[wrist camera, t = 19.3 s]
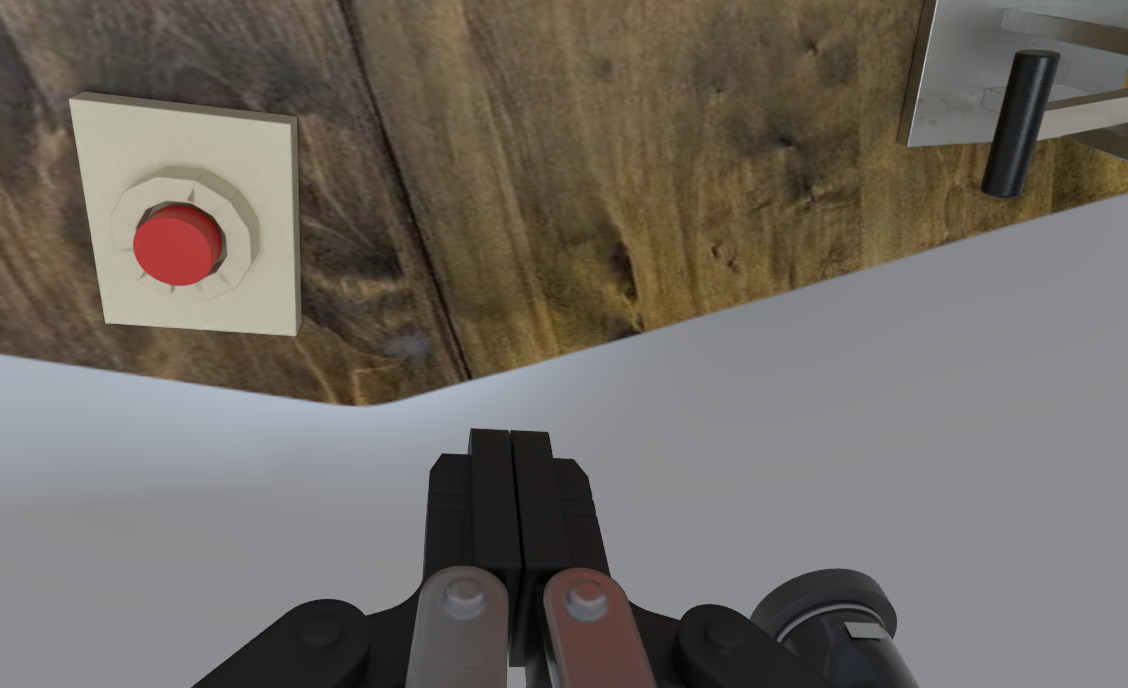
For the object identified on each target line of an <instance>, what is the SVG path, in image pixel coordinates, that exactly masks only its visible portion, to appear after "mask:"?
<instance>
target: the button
mask: <svg viewBox="0 0 1128 688" xmlns="http://www.w3.org/2000/svg"><path fill="white" fill-rule="evenodd" d="M133 250H134V254H135V257H136V259H137V261H138V263H139V264H140V266H141V267H142V268H143V269H144V271H145V272H147V273H148V274H149V275H150V276H152V277H153V278H155V279H156V280H158V281H160V282H163V283H166V284H169V285H175V286H186V285H191V284H194V283H197V282H199V281H201V280H202V279H203V278H204V277H206V276H207V274H208V273H209V272H210V270H211V269H212V267H213V266H214V264H215V263H216V262H217V260H218V259H219V257H220V254H221V251H222V240H221V236H220V233H219V231H218V229H217V227H216V226H215V224H214V223H213V222H212V221H211V220H210V219H209V218H208V217H207V216H206V215H204V214H203V213H201V212H199V211H198V210H195V209H193V208H190V207H186V206H179V205H174V206H167V207H164V208H161V209H159V210H157V211H156V212H155V213H153V214H152V215H151V216H150V217H149V218H148V219H147V220H146V221H145V222H144V223H143V224H142V225H141V226H140V227H139V228H138V230H137V231H136V233H135V236H134V239H133Z"/></svg>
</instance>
